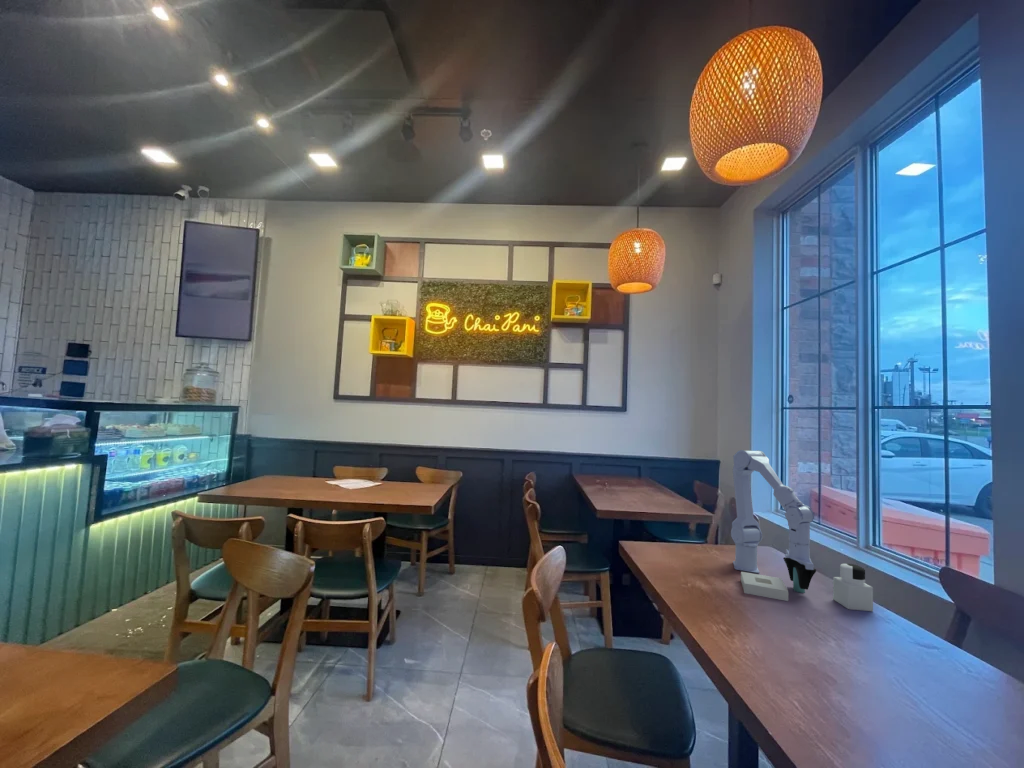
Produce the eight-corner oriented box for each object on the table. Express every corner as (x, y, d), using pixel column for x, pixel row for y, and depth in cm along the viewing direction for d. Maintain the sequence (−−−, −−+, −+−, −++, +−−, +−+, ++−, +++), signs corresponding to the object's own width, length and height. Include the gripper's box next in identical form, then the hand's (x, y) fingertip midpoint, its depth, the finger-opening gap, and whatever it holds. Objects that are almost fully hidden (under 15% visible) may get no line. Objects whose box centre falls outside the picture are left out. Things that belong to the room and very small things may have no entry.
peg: (792, 588, 144) (792, 566, 145) (803, 590, 143) (803, 568, 143) (794, 591, 141) (794, 569, 142) (805, 593, 140) (805, 571, 140)
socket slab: (740, 580, 149) (740, 571, 149) (781, 587, 144) (781, 578, 144) (744, 593, 138) (744, 583, 138) (788, 601, 133) (788, 591, 133)
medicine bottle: (856, 601, 135) (856, 562, 136) (873, 611, 128) (873, 570, 129) (832, 599, 136) (832, 560, 137) (847, 609, 129) (847, 568, 130)
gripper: (776, 535, 151) (776, 575, 150) (796, 547, 137) (796, 592, 136) (798, 537, 150) (798, 577, 149) (821, 550, 135) (820, 594, 134)
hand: (799, 584), depth 142 cm, fingers open, 6 cm apart
